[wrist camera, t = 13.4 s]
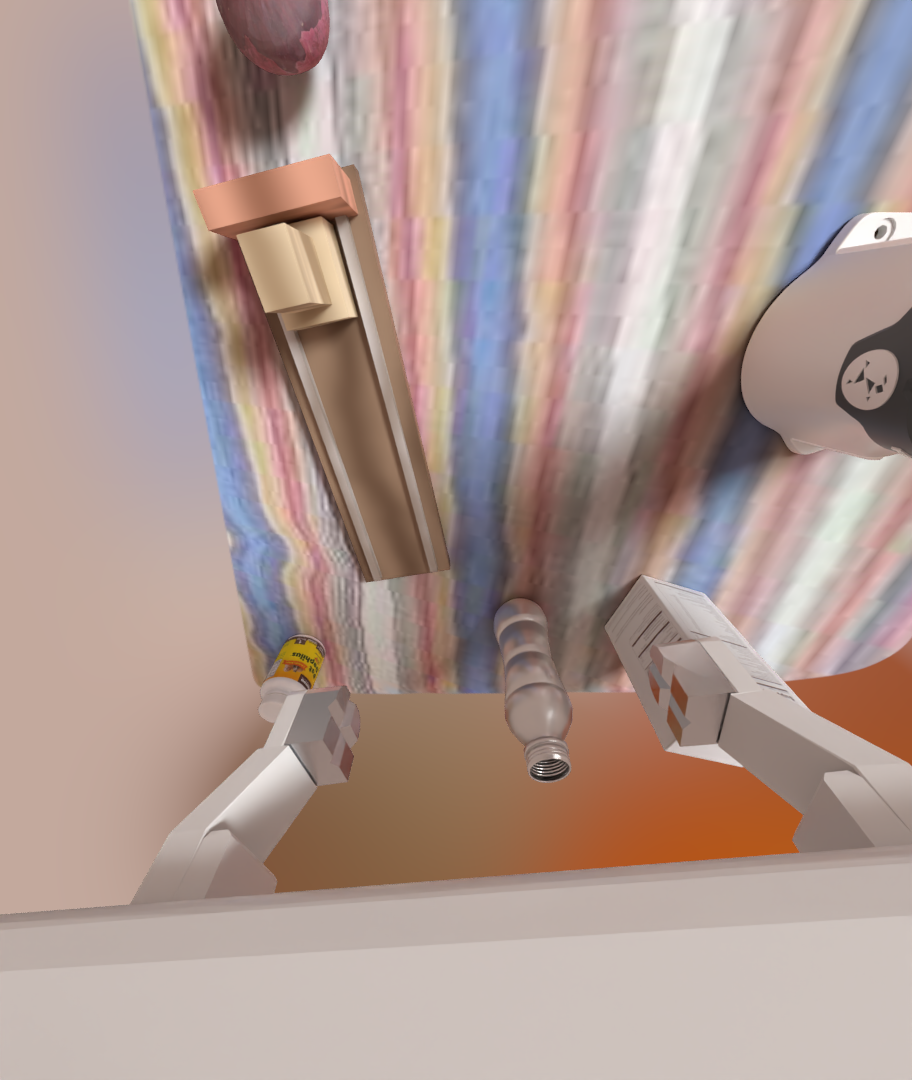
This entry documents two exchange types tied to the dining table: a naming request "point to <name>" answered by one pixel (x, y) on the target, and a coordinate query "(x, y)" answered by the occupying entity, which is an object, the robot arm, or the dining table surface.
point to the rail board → (347, 370)
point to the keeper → (299, 273)
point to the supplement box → (675, 617)
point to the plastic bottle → (533, 690)
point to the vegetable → (278, 32)
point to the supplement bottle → (290, 673)
